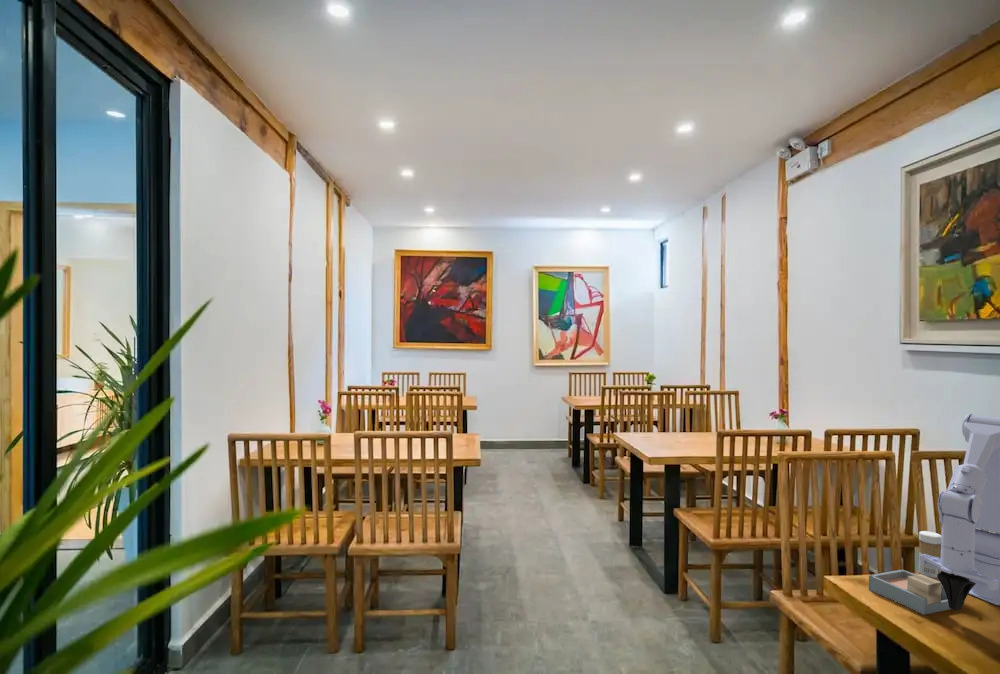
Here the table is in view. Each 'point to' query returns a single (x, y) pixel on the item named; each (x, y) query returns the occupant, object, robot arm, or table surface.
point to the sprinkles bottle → (929, 552)
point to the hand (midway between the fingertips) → (955, 608)
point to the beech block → (925, 588)
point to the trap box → (904, 592)
